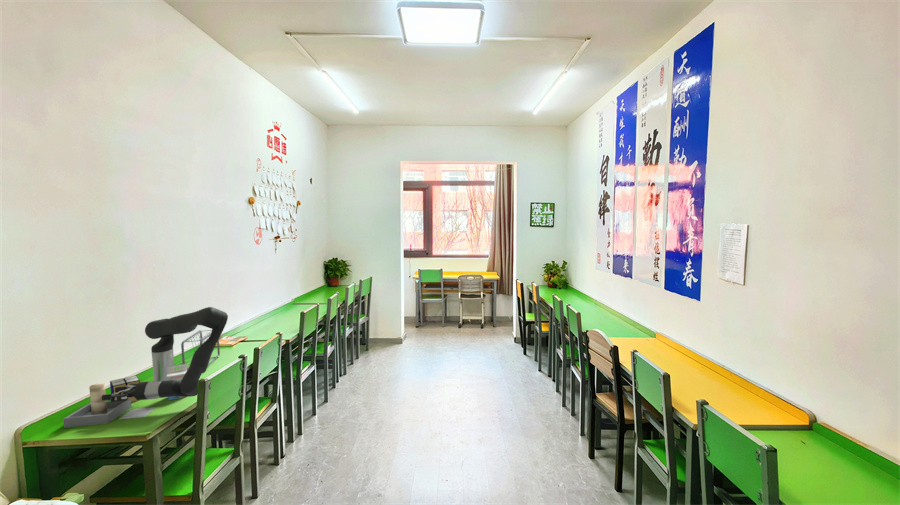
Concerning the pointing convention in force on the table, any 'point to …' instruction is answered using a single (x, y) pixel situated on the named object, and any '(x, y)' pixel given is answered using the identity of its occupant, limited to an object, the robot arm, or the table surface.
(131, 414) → the rubber mat
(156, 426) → the table surface
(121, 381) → the puzzle cube
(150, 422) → the table surface
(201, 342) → the newton's cradle
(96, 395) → the wooden canister
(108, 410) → the tray
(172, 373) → the ink box
